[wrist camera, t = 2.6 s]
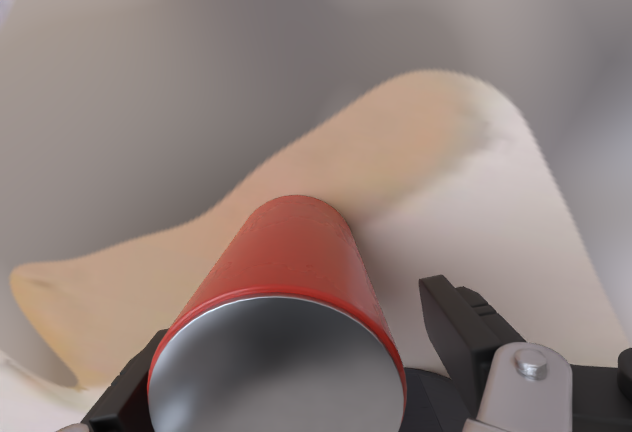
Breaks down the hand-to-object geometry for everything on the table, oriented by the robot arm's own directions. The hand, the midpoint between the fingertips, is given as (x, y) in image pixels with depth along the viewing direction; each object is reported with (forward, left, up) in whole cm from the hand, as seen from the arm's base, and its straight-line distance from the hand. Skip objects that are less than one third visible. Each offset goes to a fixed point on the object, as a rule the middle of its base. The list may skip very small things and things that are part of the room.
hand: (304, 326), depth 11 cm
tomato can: (-1, 0, -6) cm, 6 cm away
